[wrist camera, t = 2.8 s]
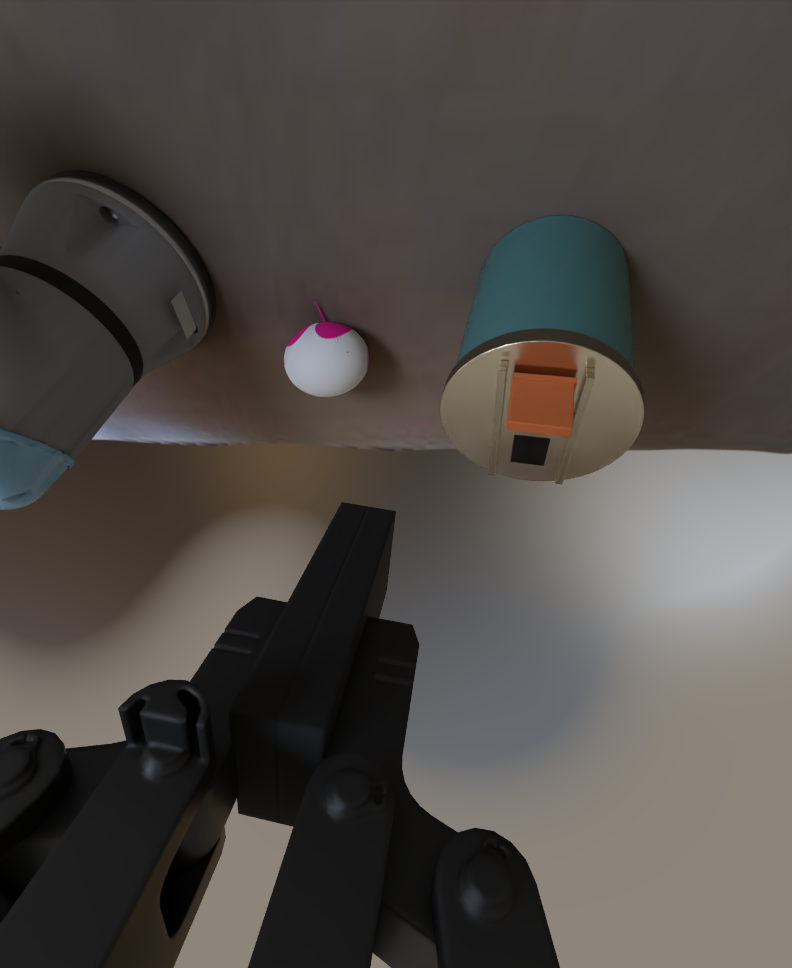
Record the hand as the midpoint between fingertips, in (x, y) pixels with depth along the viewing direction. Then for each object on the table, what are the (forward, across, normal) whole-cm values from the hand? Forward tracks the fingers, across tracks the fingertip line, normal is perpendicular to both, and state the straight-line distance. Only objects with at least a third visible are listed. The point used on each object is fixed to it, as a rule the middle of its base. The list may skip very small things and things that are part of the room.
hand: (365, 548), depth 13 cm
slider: (+14, +6, +1) cm, 15 cm away
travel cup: (+26, +7, +6) cm, 28 cm away
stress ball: (+31, -9, 0) cm, 32 cm away
